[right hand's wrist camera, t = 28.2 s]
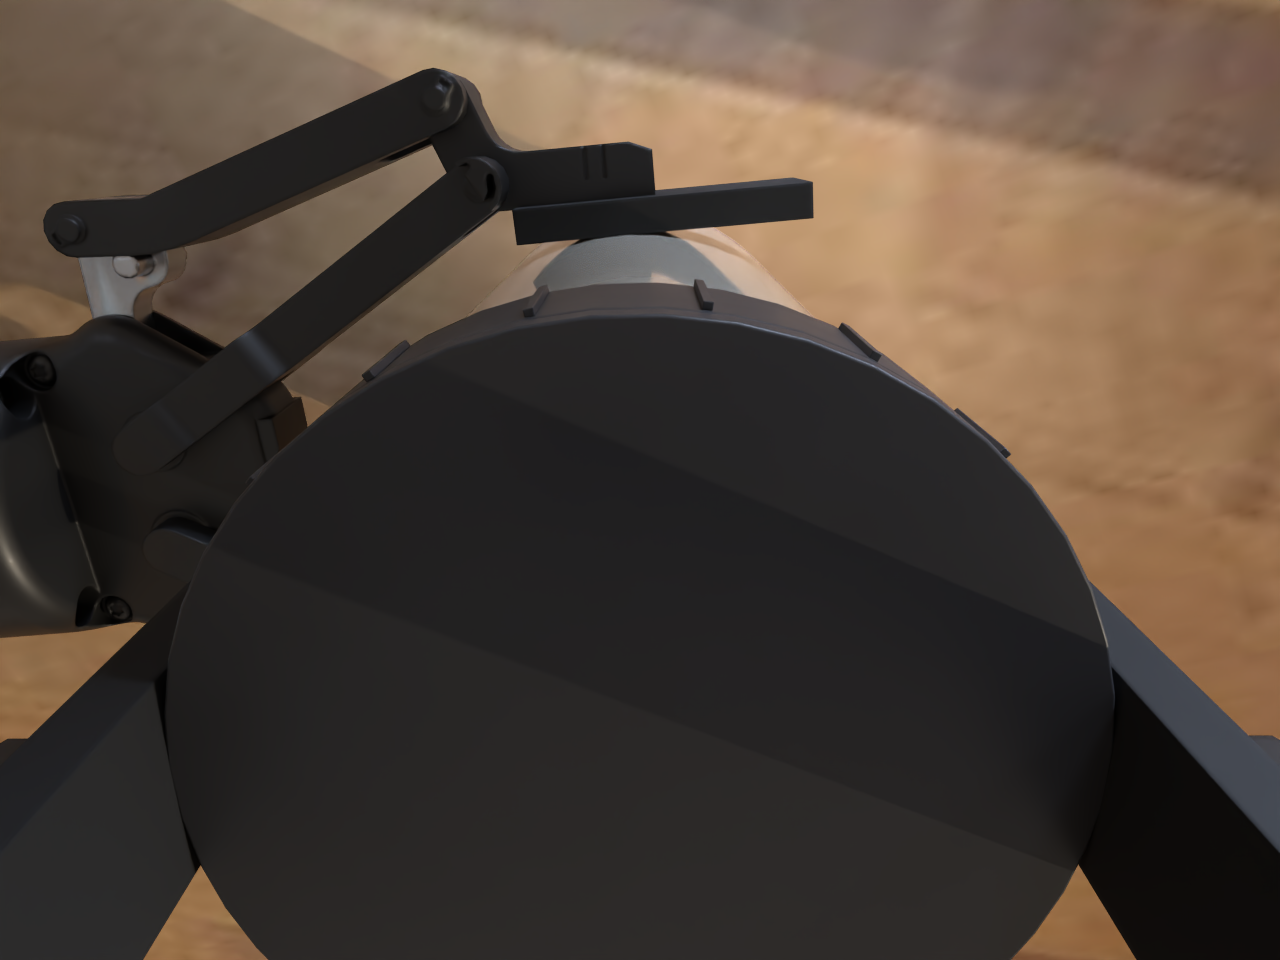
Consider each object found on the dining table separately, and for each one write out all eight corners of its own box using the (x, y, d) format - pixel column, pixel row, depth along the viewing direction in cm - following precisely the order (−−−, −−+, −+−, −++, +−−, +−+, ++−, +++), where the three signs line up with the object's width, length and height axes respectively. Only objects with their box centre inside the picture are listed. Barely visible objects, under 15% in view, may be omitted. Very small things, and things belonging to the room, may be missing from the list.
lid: (276, 966, 14) (216, 1102, 12) (185, 255, 11) (77, 282, 9) (964, 987, 15) (1018, 1125, 12) (1119, 296, 11) (1232, 331, 9)
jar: (534, 160, 27) (331, 194, 9) (848, 274, 28) (1206, 500, 10) (446, 465, 30) (171, 922, 13) (730, 556, 31) (848, 1092, 14)
